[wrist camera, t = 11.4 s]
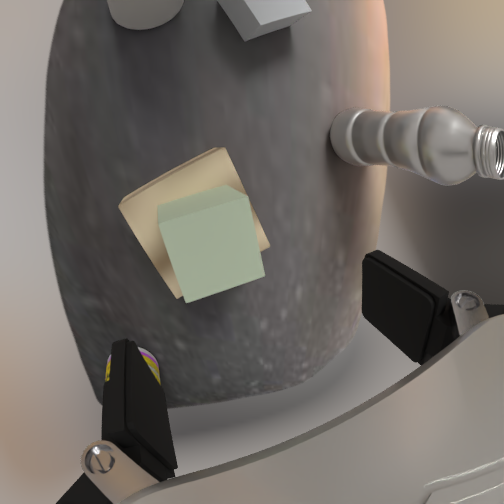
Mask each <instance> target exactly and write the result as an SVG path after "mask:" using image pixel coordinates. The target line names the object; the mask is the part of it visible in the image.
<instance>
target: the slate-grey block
mask: <svg viewBox="0 0 504 504" xmlns="http://www.w3.org/2000/svg"><path fill="white" fill-rule="evenodd" d="M218 2H219V4H220V5H221V7H222V8H223V10H224V11H225V12H226V14H227V15H228V17H229V18H230V20H231V21H232V23H233V24H234V26H235V27H236V29H237V31H238V32H239V34H240V35H241V37H242V38H243V40H244V42H245V41H248V40H250V39H253V38H256V37H258V36H261V35H264V34H267V33H270V32H273V31H276V30H279V29H282V28H285V27H288V26H291V25H292V24H294V23H295V22H296V21H298V20H299V19H301V18H302V17H304V16H305V15H307V14H308V13H309V12H311V11H312V10H311V9H310V7H309V6H308V4H307V3H306V1H305V0H218Z"/></svg>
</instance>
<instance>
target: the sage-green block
mask: <svg viewBox="0 0 504 504" xmlns="http://www.w3.org/2000/svg"><path fill="white" fill-rule="evenodd" d="M157 207H158V225H159V228H160V231H161V234H162V237H163V240H164V243H165V246H166V249H167V252H168V255H169V258H170V261H171V264H172V267H173V269H174V272H175V275H176V278H177V280H178V283H179V286H180V289H181V291H182V294H183V297H184V299H185V302H186V303H189V302H192V301H195V300H198V299H201V298H204V297H207V296H209V295H212V294H215V293H218V292H221V291H224V290H227V289H230V288H233V287H236V286H239V285H241V284H244V283H247V282H250V281H253V280H256V279H259V278H261V277H264V276H265V273H264V268H263V263H262V259H261V254H260V249H259V244H258V240H257V235H256V230H255V226H254V221H253V216H252V212H251V207H250V202H249V198H248V196H246V195H245V194H243V193H241V192H239V191H237V190H235V189H234V188H232V187H230V186H228V185H223V186H220V187H216V188H213V189H209V190H206V191H202V192H199V193H196V194H192V195H189V196H186V197H183V198H179V199H176V200H173V201H170V202H167V203H164V204H160V205H157Z"/></svg>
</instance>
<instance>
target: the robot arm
mask: <svg viewBox="0 0 504 504" xmlns="http://www.w3.org/2000/svg"><path fill="white" fill-rule="evenodd" d="M448 293H449V291H447V290H445V289H444V288H442V287H441V286H439V285H437V284H436V283H434V282H433V281H431V280H429V279H428V278H426V277H424V276H423V275H421V274H419V273H418V272H416V271H414V270H413V269H411V268H409V267H408V266H406V265H404V264H402V263H401V262H399V261H397V260H395V259H394V258H392V257H390V256H389V255H386V254H385V253H383V252H381V251H380V250H375V251H373V252H371V253H368V254H366V255H365V258H364V259H363V261H362V314H363V316H364V317H365V319H367V320H368V321H369V322H370V323H371V324H372V325H373V326H374V327H376V328H377V329H378V330H379V331H380V332H381V333H382V334H383V335H384V336H386V337H387V338H388V339H389V340H390V341H391V342H392V343H393V344H395V345H396V346H397V347H398V348H399V349H400V350H401V351H402V352H403V353H405V354H406V355H407V356H408V357H409V358H410V359H411V360H412V361H413V362H418V363H419V364H420V365H421V366H420V367H419V368H417V369H416V370H415V371H413V372H412V373H410V374H409V375H407V376H406V377H404V378H403V379H401V380H400V381H398V382H397V383H395V384H394V385H392V386H391V387H389V388H387V389H386V390H384V391H383V392H381V393H379V394H378V395H376V396H374V397H373V398H371V399H369V400H368V401H366V402H364V403H363V404H361V405H359V406H357V407H355V408H354V409H352V410H350V411H348V412H346V413H344V414H343V415H341V416H339V417H337V418H335V419H333V420H331V421H329V422H327V423H325V424H323V425H321V426H319V427H316V428H314V429H312V430H310V431H308V432H306V433H304V434H301V435H299V436H297V437H294V438H292V439H290V440H287V441H285V442H283V443H280V444H278V445H275V446H273V447H270V448H267V449H265V450H262V451H259V452H257V453H254V454H251V455H248V456H245V457H242V458H239V459H237V460H233V461H230V462H227V463H224V464H221V465H218V466H215V467H211V468H208V469H204V470H200V471H196V472H193V473H189V474H186V475H182V476H179V477H175V473H174V469H177V468H178V466H177V461H176V456H175V451H174V446H173V441H172V436H171V430H170V424H169V418H168V412H167V406H166V399H165V394H164V391H163V389H162V387H161V385H160V384H159V382H158V380H157V379H156V377H155V376H154V374H153V372H152V371H151V369H150V367H149V366H148V364H147V362H146V361H145V359H144V357H143V356H142V354H141V352H140V350H139V349H138V347H137V345H136V343H135V342H134V341H129V340H128V339H123V340H120V341H116V342H113V344H112V351H111V362H110V374H109V380H108V381H106V382H105V383H104V391H103V408H102V440H99V441H96V442H93V443H91V444H90V445H88V446H87V448H86V449H85V450H84V451H83V454H82V456H81V466H82V469H83V471H84V473H83V474H82V475H81V477H80V478H79V479H78V480H77V481H76V482H75V483H74V484H73V485H72V486H71V487H70V489H69V490H68V491H67V492H66V493H65V494H64V495H63V496H62V497H61V498H60V500H59V501H58V502H57V503H56V504H504V305H490V304H484V303H483V301H482V300H481V298H480V297H479V296H478V295H477V294H475V293H473V292H470V291H458V292H455V293H454V294H453V295H452V297H451V299H449V298H448ZM173 477H175V478H173ZM168 478H171V479H168ZM167 479H168V480H167Z"/></svg>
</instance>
